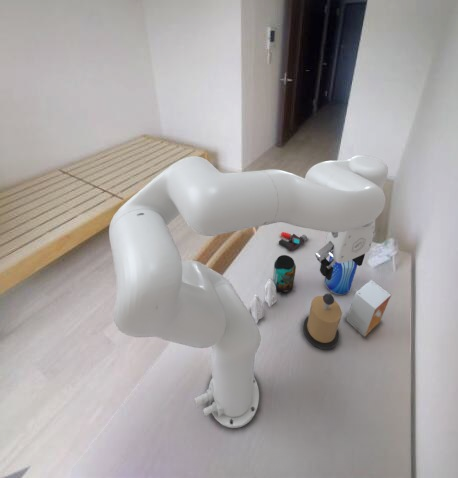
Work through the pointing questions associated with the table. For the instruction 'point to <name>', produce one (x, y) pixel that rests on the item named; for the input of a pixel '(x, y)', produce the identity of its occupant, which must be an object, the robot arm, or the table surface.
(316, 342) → the towel holder
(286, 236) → the toy gun
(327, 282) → the blue striped vase
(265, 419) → the table surface
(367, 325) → the small box
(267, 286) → the shaker set
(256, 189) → the robot arm
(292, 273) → the beverage can
